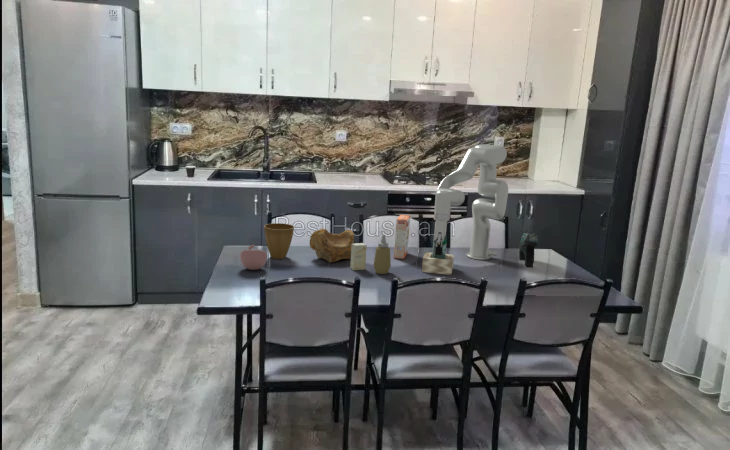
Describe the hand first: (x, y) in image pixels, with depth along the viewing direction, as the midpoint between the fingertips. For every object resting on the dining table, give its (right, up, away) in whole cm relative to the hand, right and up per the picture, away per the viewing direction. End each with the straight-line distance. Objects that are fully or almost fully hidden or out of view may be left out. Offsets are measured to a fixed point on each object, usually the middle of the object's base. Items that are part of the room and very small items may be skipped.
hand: (439, 252), depth 264 cm
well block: (0, -9, +2) cm, 9 cm away
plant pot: (-79, -3, +10) cm, 80 cm away
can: (0, -7, +1) cm, 7 cm away
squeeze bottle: (-28, -9, -7) cm, 30 cm away
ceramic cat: (+48, -7, +22) cm, 53 cm away
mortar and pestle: (-87, -7, -12) cm, 88 cm away
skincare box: (-39, -8, -3) cm, 40 cm away
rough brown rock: (-52, -4, +11) cm, 53 cm away
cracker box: (-17, -3, +25) cm, 30 cm away
